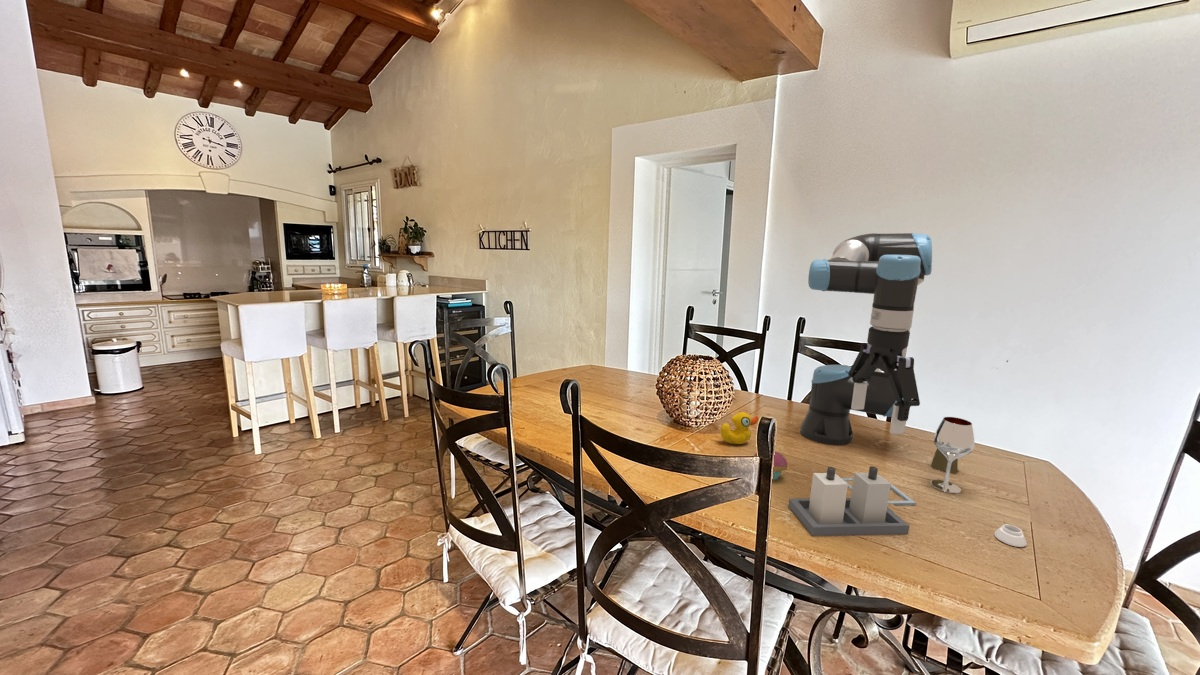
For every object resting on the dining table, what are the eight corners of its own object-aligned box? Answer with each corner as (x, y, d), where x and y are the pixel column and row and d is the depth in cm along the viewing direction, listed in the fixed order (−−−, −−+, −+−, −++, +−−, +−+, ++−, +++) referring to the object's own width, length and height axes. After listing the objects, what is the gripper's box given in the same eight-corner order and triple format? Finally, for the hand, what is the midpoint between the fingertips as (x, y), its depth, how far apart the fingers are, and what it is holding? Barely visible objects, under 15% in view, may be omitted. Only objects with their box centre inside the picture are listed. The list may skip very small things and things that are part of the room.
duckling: (752, 439, 145) (755, 409, 143) (759, 446, 140) (762, 415, 138) (717, 439, 144) (719, 409, 142) (722, 447, 139) (725, 416, 137)
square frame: (838, 480, 120) (838, 478, 120) (882, 479, 121) (882, 477, 121) (867, 505, 109) (867, 503, 109) (915, 505, 109) (916, 502, 109)
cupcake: (757, 466, 127) (761, 425, 125) (789, 475, 122) (794, 433, 120) (747, 478, 120) (751, 436, 118) (780, 489, 116) (785, 444, 113)
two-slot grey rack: (788, 508, 107) (789, 498, 107) (874, 506, 108) (876, 497, 108) (811, 537, 96) (813, 527, 96) (907, 536, 98) (909, 525, 97)
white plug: (808, 513, 104) (814, 463, 102) (829, 513, 105) (836, 462, 102) (819, 526, 99) (826, 474, 97) (842, 526, 100) (849, 474, 97)
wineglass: (970, 498, 113) (984, 429, 109) (931, 491, 116) (943, 424, 112) (958, 482, 120) (970, 417, 117) (921, 476, 123) (932, 413, 120)
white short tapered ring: (1014, 550, 94) (1031, 546, 95) (1017, 537, 93) (1034, 533, 95) (988, 535, 98) (1005, 532, 100) (990, 523, 98) (1007, 519, 99)
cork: (962, 474, 125) (969, 436, 123) (937, 471, 126) (944, 434, 124) (950, 464, 131) (957, 427, 128) (926, 461, 132) (933, 425, 130)
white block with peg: (848, 513, 105) (855, 462, 102) (869, 512, 105) (877, 462, 103) (862, 526, 100) (870, 473, 97) (884, 525, 100) (892, 473, 98)
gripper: (839, 317, 110) (829, 400, 115) (915, 341, 86) (898, 446, 91) (869, 317, 111) (858, 400, 115) (953, 341, 86) (934, 445, 91)
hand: (875, 420), depth 103 cm, fingers open, 13 cm apart
